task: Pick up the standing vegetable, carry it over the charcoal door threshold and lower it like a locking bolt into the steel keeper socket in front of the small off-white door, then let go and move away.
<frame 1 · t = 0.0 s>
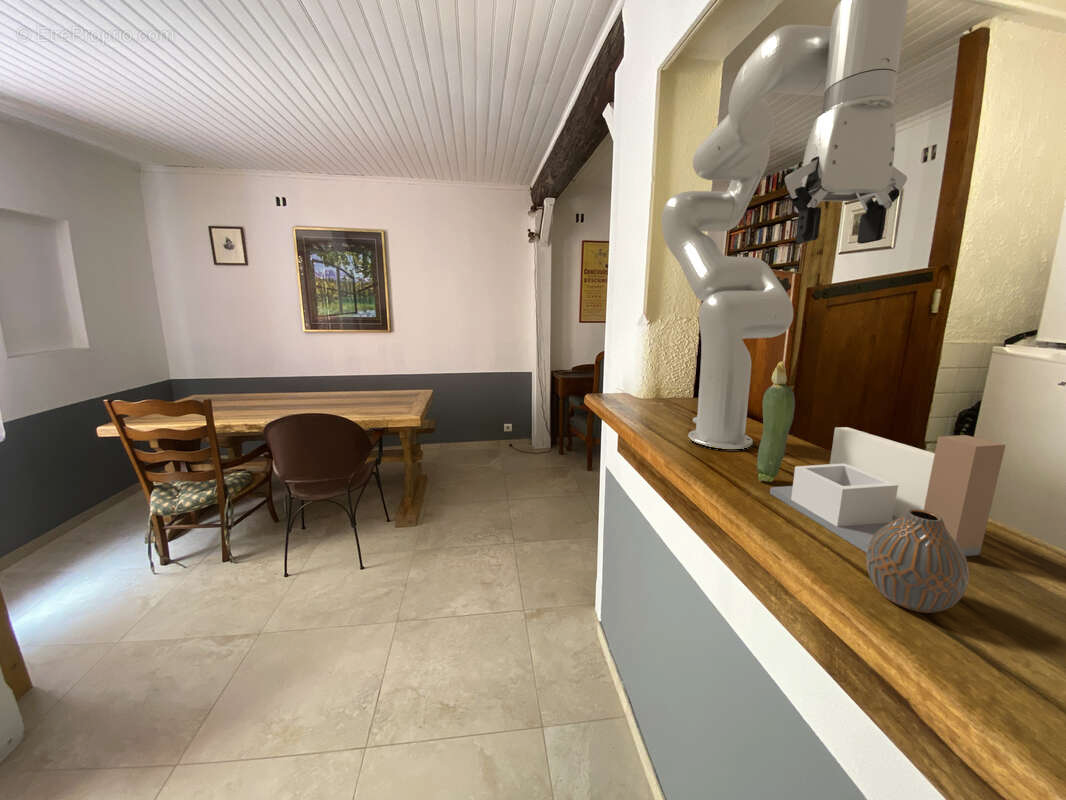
hand: (838, 241, 55), 37 cm above the table, tool pointing down, fingers open, 9 cm apart
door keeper: (858, 519, 53), on the table
vase: (907, 600, 38), on the table
vegetable: (769, 483, 65), on the table
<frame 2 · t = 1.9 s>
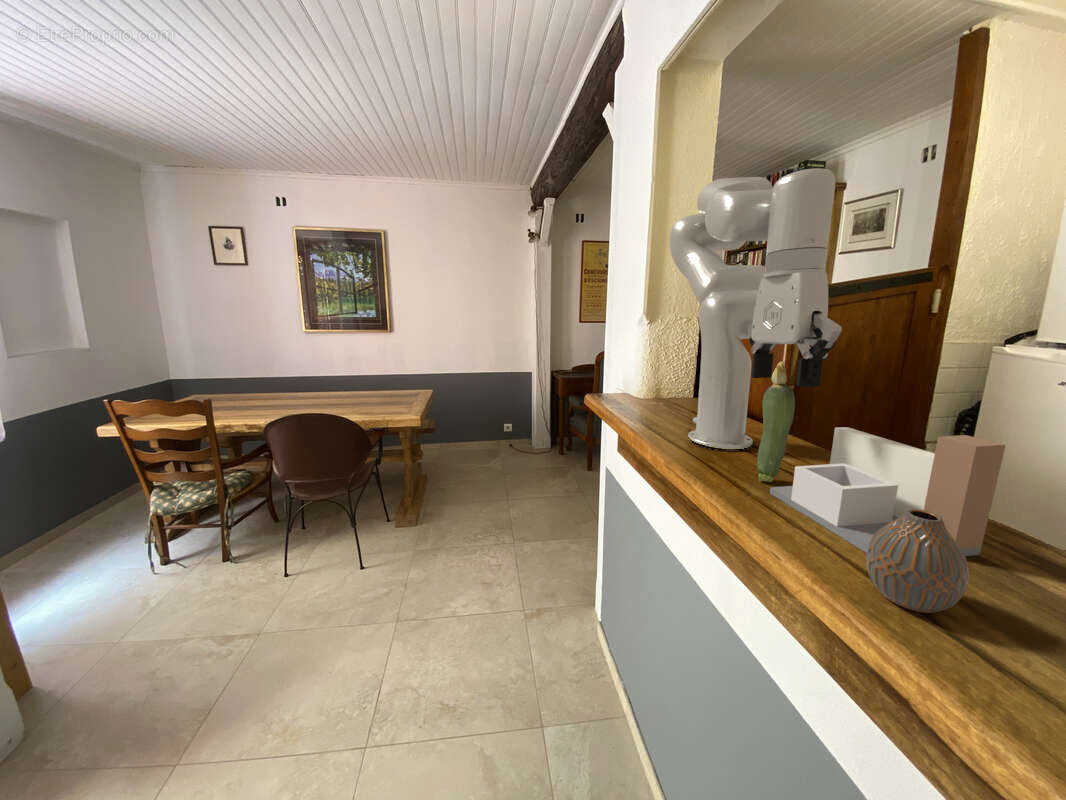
hand: (782, 381, 61), 17 cm above the table, tool pointing down, fingers open, 9 cm apart
nothing on the table moved.
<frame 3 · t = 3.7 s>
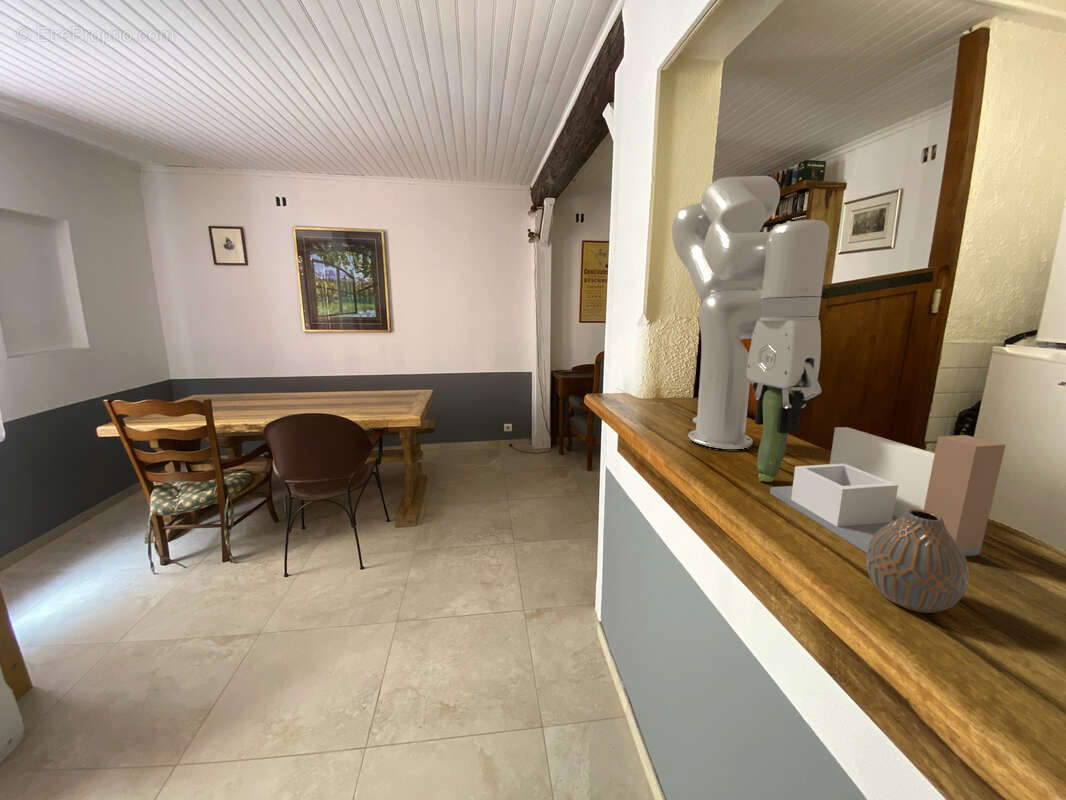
hand: (775, 426, 63), 9 cm above the table, tool pointing down, fingers closed on vegetable, 4 cm apart
vegetable: (769, 482, 65), on the table, touching gripper
everything else where it was.
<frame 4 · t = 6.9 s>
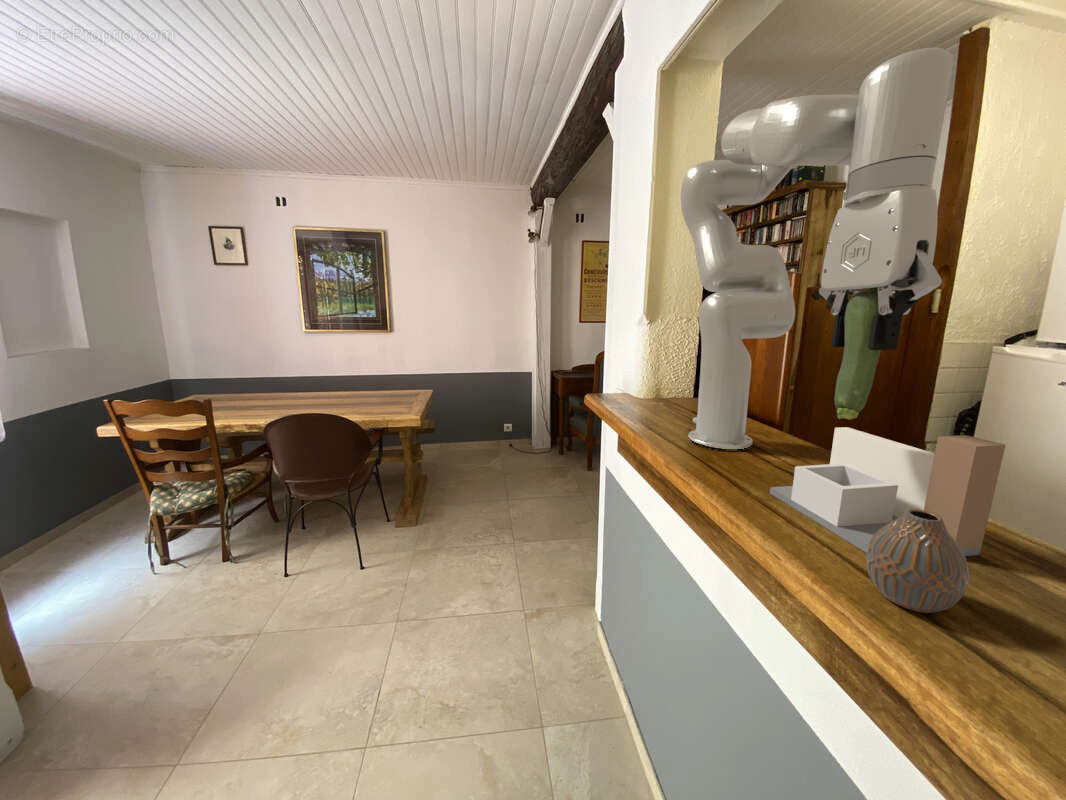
hand: (862, 346, 49), 23 cm above the table, tool pointing down, fingers closed on vegetable, 4 cm apart
vegetable: (851, 420, 51), point 13 cm above the table, touching gripper
everything else where it was.
when the fingers open (12 cm above the table, at t = 10.1 s): vegetable drops 1 cm, resting on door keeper.
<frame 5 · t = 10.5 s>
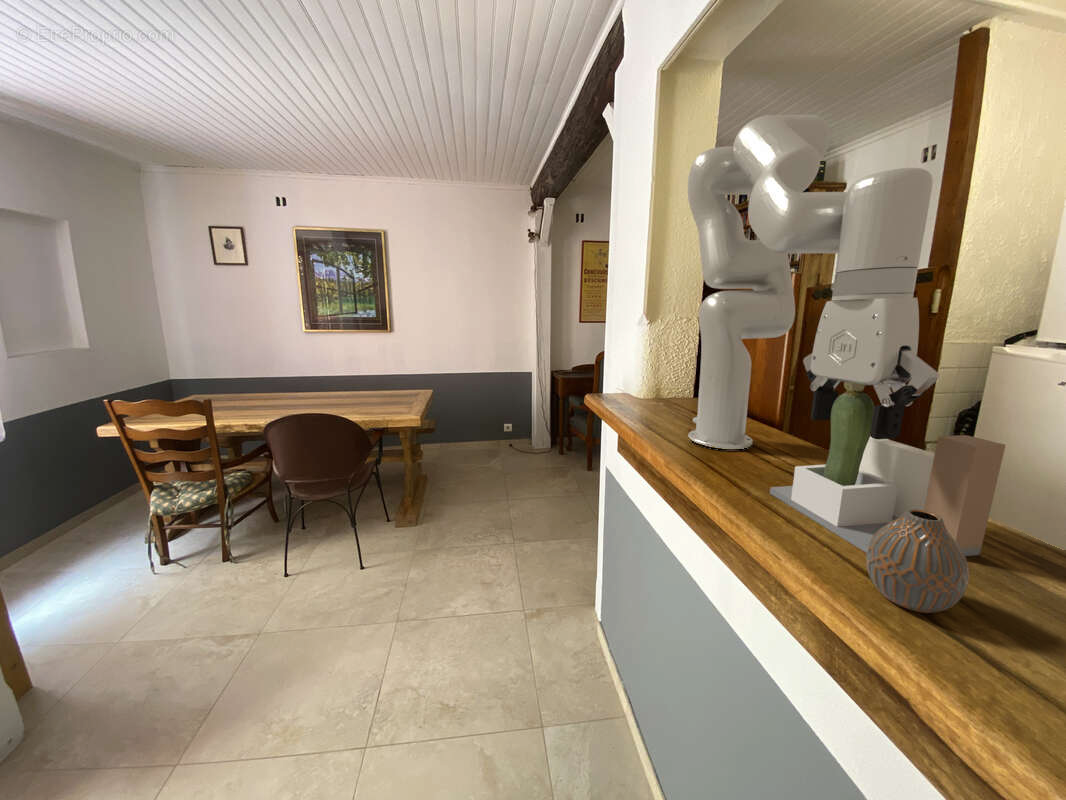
hand: (850, 427, 51), 13 cm above the table, tool pointing down, fingers open, 8 cm apart
vegetable: (837, 511, 53), point 1 cm above the table, touching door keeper
everything else where it was.
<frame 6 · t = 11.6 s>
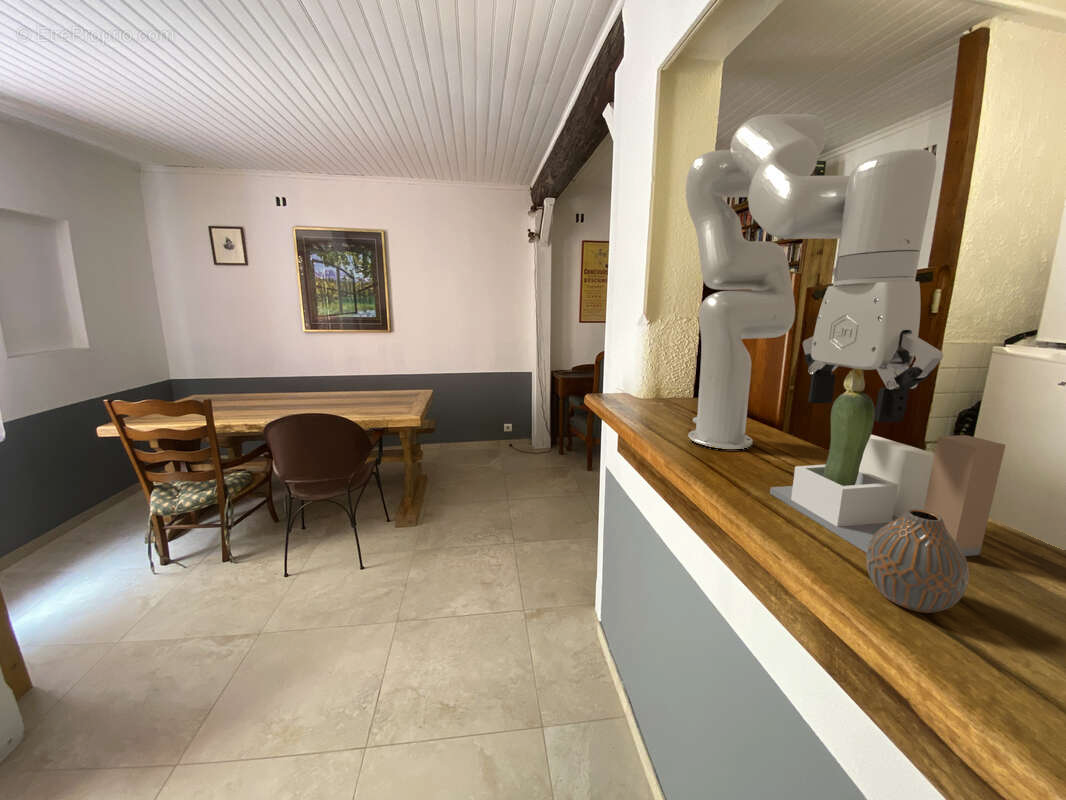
hand: (850, 411, 51), 15 cm above the table, tool pointing down, fingers open, 9 cm apart
nothing on the table moved.
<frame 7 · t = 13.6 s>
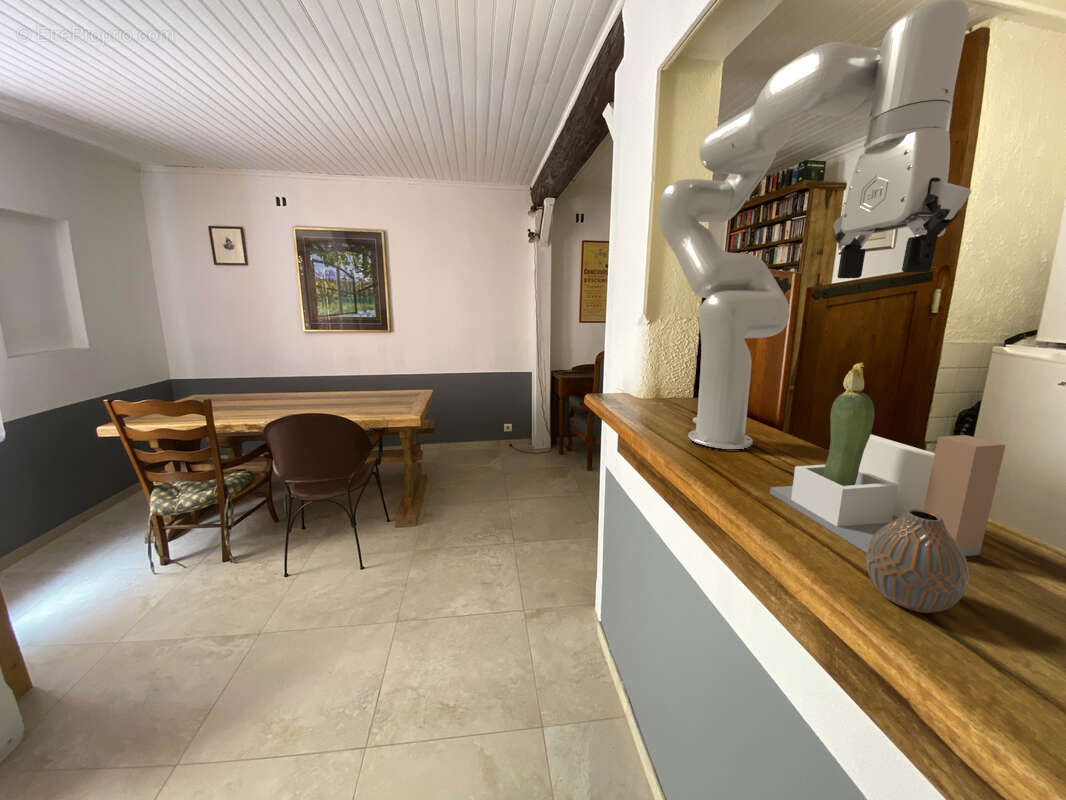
hand: (879, 275, 54), 32 cm above the table, tool pointing down, fingers open, 9 cm apart
nothing on the table moved.
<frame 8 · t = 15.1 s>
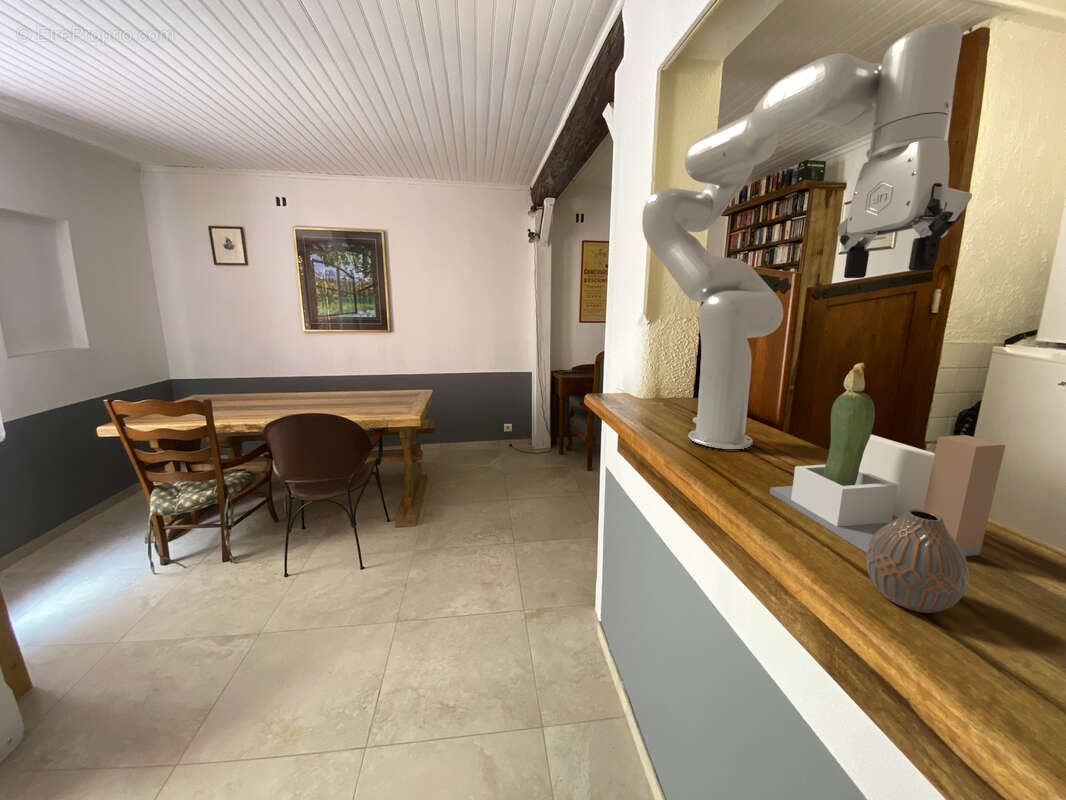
hand: (885, 274, 57), 32 cm above the table, tool pointing down, fingers open, 9 cm apart
nothing on the table moved.
at the end: vegetable 0.1 cm from the target spot on the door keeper, point 0.8 cm above the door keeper's base; vegetable tilted 0°; the gripper is holding nothing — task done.
